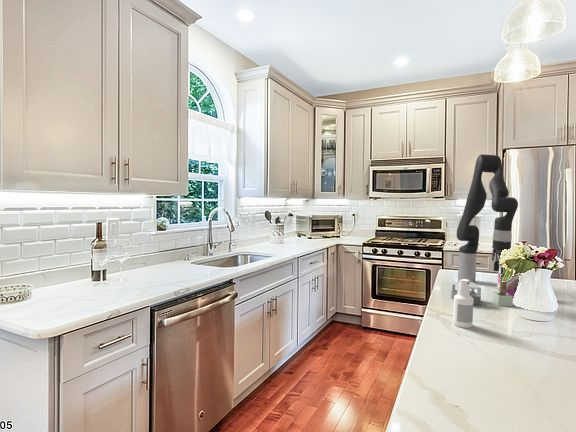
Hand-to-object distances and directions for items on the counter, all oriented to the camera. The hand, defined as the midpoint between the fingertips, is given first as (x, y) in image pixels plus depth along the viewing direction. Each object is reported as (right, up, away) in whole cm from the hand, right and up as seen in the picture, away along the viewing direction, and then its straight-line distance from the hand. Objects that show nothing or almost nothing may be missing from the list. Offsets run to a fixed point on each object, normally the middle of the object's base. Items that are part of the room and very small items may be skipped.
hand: (499, 273), depth 169 cm
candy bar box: (+12, -14, +12) cm, 22 cm away
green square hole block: (0, -14, -2) cm, 14 cm away
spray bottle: (-32, -16, -29) cm, 46 cm away
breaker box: (-16, -14, +1) cm, 21 cm away
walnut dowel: (0, -13, -3) cm, 14 cm away
